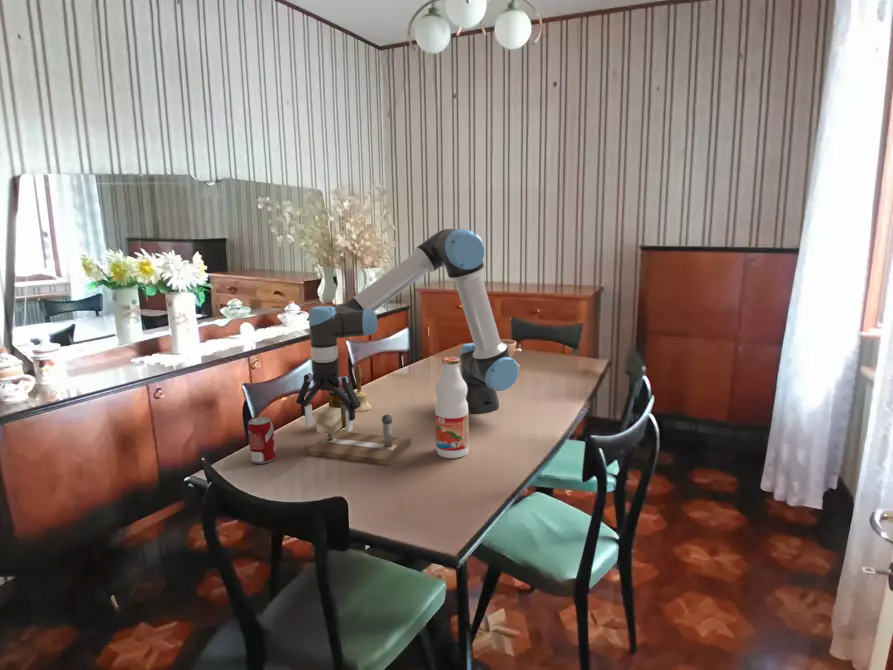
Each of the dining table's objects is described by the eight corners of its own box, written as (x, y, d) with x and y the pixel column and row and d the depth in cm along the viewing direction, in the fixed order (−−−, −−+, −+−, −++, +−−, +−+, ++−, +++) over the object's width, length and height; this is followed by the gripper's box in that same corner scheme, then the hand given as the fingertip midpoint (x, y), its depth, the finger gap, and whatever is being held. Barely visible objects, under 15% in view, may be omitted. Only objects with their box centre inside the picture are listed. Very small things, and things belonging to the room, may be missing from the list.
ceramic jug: (523, 370, 257) (523, 338, 254) (519, 379, 243) (519, 345, 240) (483, 369, 261) (482, 338, 258) (476, 377, 247) (476, 344, 245)
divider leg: (342, 435, 179) (340, 408, 177) (332, 443, 173) (330, 414, 171) (327, 434, 180) (326, 406, 178) (317, 441, 175) (315, 413, 173)
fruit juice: (475, 452, 170) (474, 358, 164) (452, 462, 164) (450, 364, 158) (453, 443, 177) (451, 352, 171) (429, 452, 170) (427, 358, 165)
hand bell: (367, 412, 206) (365, 368, 203) (345, 411, 208) (342, 367, 205) (375, 405, 214) (373, 362, 211) (353, 404, 216) (351, 361, 212)
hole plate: (411, 443, 177) (410, 407, 175) (389, 465, 163) (388, 425, 160) (334, 435, 185) (332, 400, 183) (307, 454, 171) (304, 416, 168)
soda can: (262, 467, 163) (258, 426, 160) (245, 462, 166) (242, 421, 164) (280, 458, 168) (277, 418, 166) (264, 453, 172) (261, 414, 169)
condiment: (346, 421, 198) (344, 386, 195) (354, 429, 190) (352, 393, 188) (325, 424, 195) (323, 390, 192) (332, 433, 187) (329, 397, 185)
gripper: (369, 358, 171) (373, 427, 176) (295, 354, 179) (300, 420, 183) (357, 365, 164) (361, 436, 169) (280, 360, 172) (286, 428, 176)
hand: (329, 428), depth 176 cm, fingers open, 13 cm apart
